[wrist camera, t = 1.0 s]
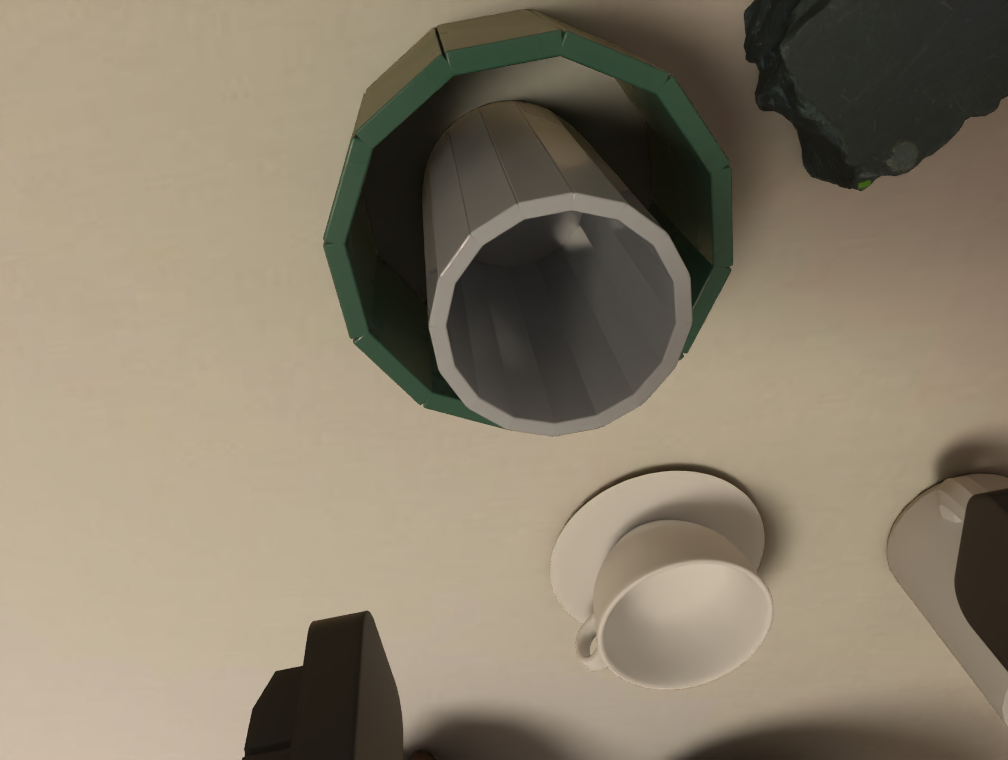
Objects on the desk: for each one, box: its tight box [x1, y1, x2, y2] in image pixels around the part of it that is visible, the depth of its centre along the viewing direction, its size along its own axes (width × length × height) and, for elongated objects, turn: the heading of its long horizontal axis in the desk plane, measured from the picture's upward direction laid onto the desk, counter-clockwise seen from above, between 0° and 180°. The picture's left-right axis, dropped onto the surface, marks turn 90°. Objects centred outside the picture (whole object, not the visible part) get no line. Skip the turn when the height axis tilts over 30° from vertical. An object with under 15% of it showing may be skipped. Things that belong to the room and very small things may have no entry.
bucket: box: [323, 9, 733, 430], centre depth 25 cm, size 11×11×6 cm
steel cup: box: [422, 101, 692, 437], centre depth 23 cm, size 6×6×11 cm
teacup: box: [550, 471, 774, 690], centre depth 34 cm, size 10×10×5 cm
